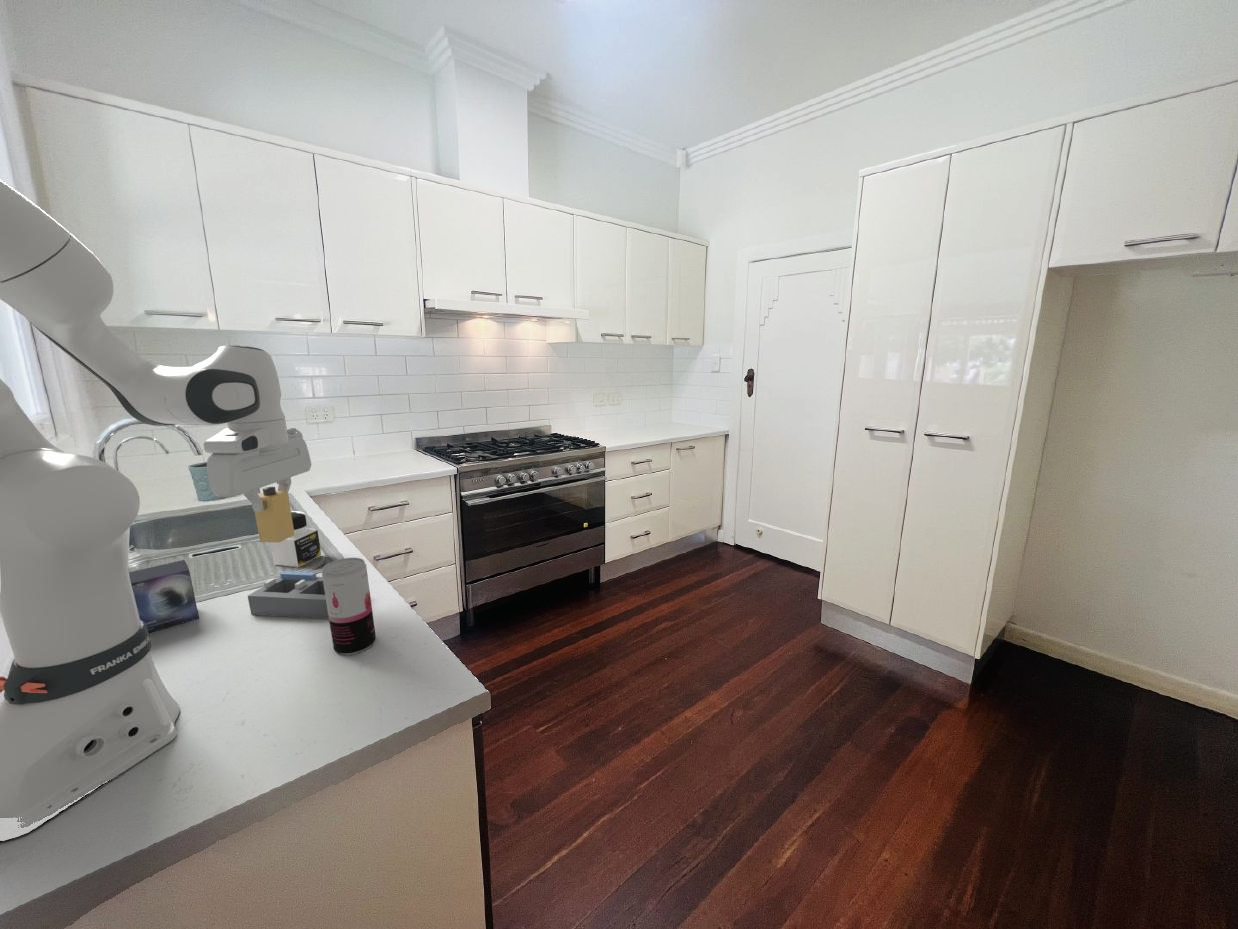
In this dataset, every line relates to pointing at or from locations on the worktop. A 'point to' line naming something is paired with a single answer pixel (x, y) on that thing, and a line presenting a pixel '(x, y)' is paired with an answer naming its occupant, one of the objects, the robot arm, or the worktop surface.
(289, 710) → the worktop surface
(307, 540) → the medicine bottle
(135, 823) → the worktop surface
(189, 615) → the small box
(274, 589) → the grey compartment tray
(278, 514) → the drawer with knob
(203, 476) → the teal cup
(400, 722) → the worktop surface
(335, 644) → the beverage can
